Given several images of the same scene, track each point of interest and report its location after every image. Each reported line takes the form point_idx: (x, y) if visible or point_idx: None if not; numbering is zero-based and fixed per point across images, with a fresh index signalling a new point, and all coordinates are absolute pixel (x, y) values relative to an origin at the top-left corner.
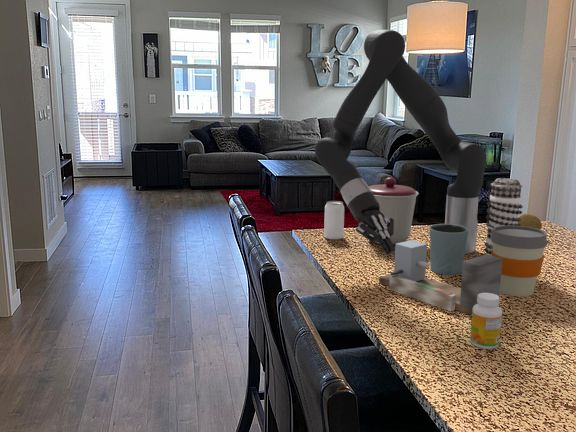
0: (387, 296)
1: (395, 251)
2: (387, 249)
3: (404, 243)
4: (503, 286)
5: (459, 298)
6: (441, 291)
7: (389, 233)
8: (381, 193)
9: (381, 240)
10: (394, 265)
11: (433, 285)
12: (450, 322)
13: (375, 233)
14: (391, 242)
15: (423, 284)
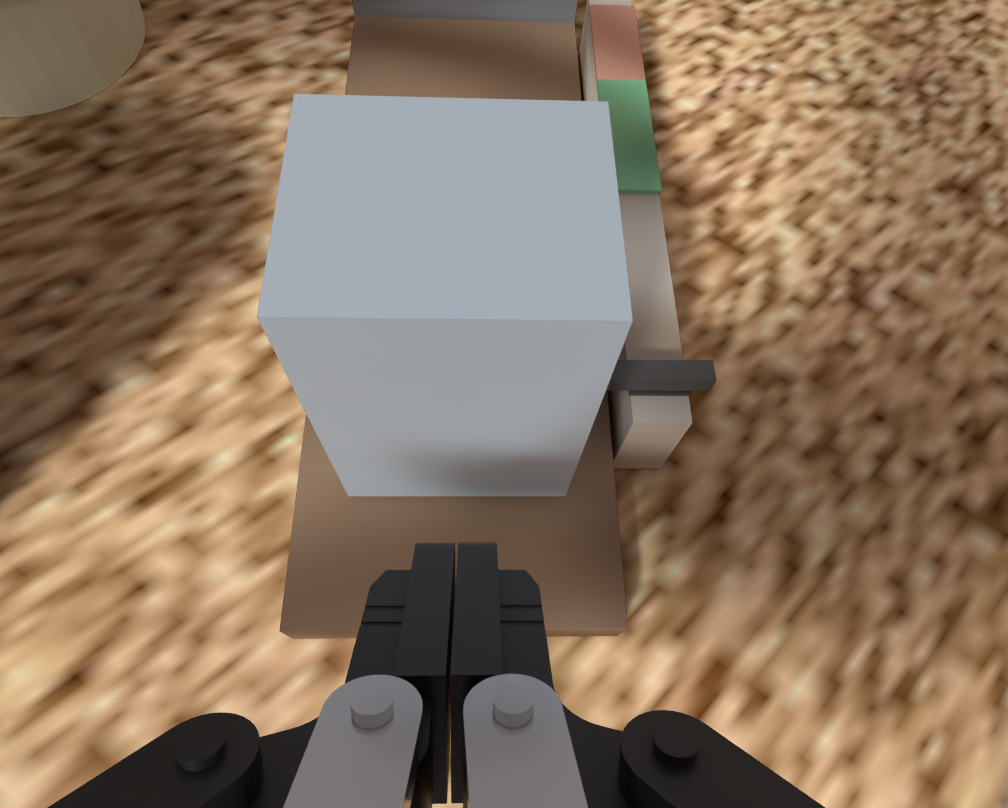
0: (766, 385)
1: (612, 370)
2: (534, 591)
3: (505, 262)
4: (128, 2)
5: (498, 58)
6: (625, 43)
7: (254, 774)
8: None
9: (565, 716)
10: (582, 449)
11: None
12: (719, 19)
13: (729, 802)
14: (372, 642)
15: (621, 157)
